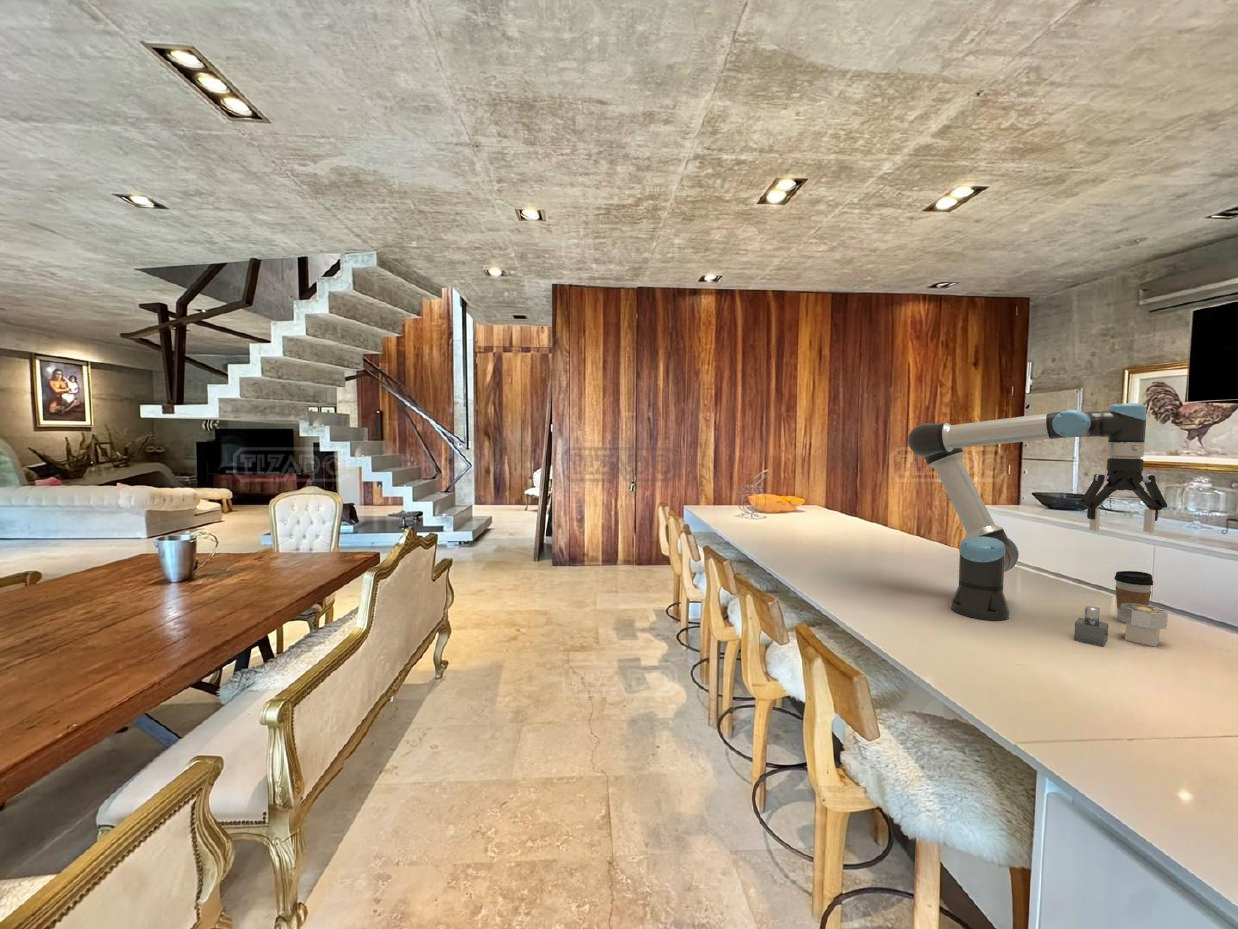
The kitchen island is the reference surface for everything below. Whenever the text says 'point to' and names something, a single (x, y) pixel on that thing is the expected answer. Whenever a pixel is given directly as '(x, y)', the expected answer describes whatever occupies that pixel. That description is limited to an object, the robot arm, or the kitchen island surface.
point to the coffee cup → (1132, 588)
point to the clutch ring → (1143, 616)
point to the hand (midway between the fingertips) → (1121, 531)
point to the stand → (1091, 628)
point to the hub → (1142, 633)
